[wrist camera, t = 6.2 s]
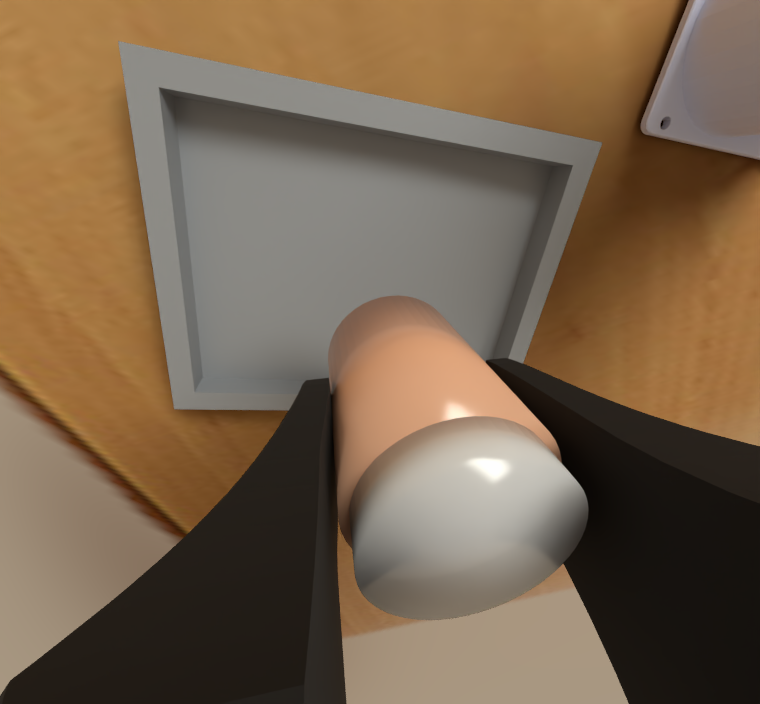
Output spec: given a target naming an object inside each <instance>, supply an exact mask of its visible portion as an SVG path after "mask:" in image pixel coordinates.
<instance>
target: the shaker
mask: <svg viewBox="0 0 760 704" xmlns="http://www.w3.org/2000/svg"><path fill="white" fill-rule="evenodd" d="M328 367H329V382H330V391H331V402H332V417H333V443H334V459H335V474H336V489H337V505H338V519H339V525H340V529H341V532H342V534H343V536H344V538H345V540H346V542H347V543H348V544H349V546H350V547H351V548H352V550H353V560H354V570H355V578H356V581H357V585H358V587H359V589H360V591H361V593H362V594H363V595H364V596H365V598H366V599H367V600H368V601H369V602H370V603H372V604H373V605H374V606H376V607H377V608H379V609H381V610H383V611H385V612H387V613H390V614H392V615H395V616H399V617H403V618H409V619H417V620H441V619H450V618H457V617H462V616H467V615H471V614H475V613H479V612H482V611H485V610H488V609H491V608H494V607H496V606H499V605H501V604H504V603H506V602H508V601H510V600H512V599H514V598H516V597H518V596H520V595H522V594H524V593H525V592H527V591H529V590H531V589H532V588H534V587H535V586H537V585H538V584H540V583H541V582H542V581H544V580H545V579H546V578H547V577H549V576H550V575H551V574H552V573H554V572H555V571H556V570H557V569H558V568H559V567H560V566H561V565H562V564H563V563H564V562H565V561H566V560H567V558H568V557H569V556H570V555H571V553H572V552H573V551H574V549H575V548H576V546H577V545H578V543H579V541H580V540H581V538H582V535H583V533H584V531H585V528H586V524H587V520H588V509H589V508H588V502H587V498H586V495H585V493H584V490H583V489H582V487H581V486H580V484H579V483H578V482H577V480H576V479H575V478H574V477H573V476H572V475H571V474H570V472H569V471H568V470H567V469H566V468H565V467H564V465H563V464H562V460H561V455H560V450H559V448H558V445H557V443H556V441H555V439H554V438H553V436H552V435H551V433H550V432H549V431H548V430H547V429H546V427H545V426H544V425H543V424H542V423H541V422H540V421H539V420H538V419H537V418H536V417H535V416H534V414H533V413H532V412H531V411H530V410H529V409H528V408H527V407H526V406H525V405H524V404H523V403H522V401H521V400H520V399H519V398H518V397H517V396H516V395H515V394H514V393H513V392H512V391H511V390H510V388H509V387H508V386H507V385H506V384H505V383H504V382H503V381H502V380H501V379H500V378H499V377H498V375H497V374H496V373H495V372H494V371H493V370H492V369H491V368H490V367H489V366H488V365H487V363H486V362H485V361H484V360H483V359H482V358H481V357H480V356H479V355H478V354H477V353H476V352H475V350H474V349H473V348H472V347H471V346H470V345H469V344H468V343H467V342H466V341H465V340H464V339H463V337H462V336H461V335H460V334H459V333H458V332H457V331H456V330H455V329H454V328H453V327H452V326H451V324H450V323H449V322H448V321H447V320H446V319H445V318H444V317H443V316H442V315H441V314H440V313H439V312H438V311H437V310H436V309H435V308H434V307H432V306H431V305H430V304H428V303H426V302H424V301H422V300H419V299H416V298H413V297H408V296H399V295H397V296H386V297H380V298H377V299H374V300H371V301H369V302H366V303H364V304H362V305H361V306H359V307H357V308H356V309H354V310H353V311H352V312H351V313H349V314H348V315H347V316H346V317H345V318H344V319H343V320H342V322H341V323H340V324H339V326H338V327H337V329H336V331H335V332H334V334H333V337H332V339H331V342H330V346H329V350H328Z"/></svg>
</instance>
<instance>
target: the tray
mask: <svg viewBox="0 0 760 704" xmlns="http://www.w3.org/2000/svg"><path fill="white" fill-rule="evenodd" d="M118 42H119V49H120V56H121V62H122V69H123V75H124V82H125V88H126V95H127V102H128V108H129V115H130V121H131V128H132V134H133V141H134V148H135V154H136V161H137V167H138V174H139V181H140V187H141V194H142V200H143V207H144V213H145V220H146V227H147V233H148V240H149V246H150V253H151V260H152V266H153V273H154V279H155V286H156V292H157V299H158V306H159V312H160V319H161V325H162V332H163V339H164V345H165V352H166V358H167V365H168V371H169V378H170V385H171V391H172V398H173V404H174V409H196V410H289V409H290V408H291V406H292V404H293V402H294V400H295V399H296V397H297V395H298V393H299V391H300V389H301V386H302V384H303V383H304V382H305V381H306V380H313V379H321V378H329V367H328V350H329V346H330V342H331V339H332V337H333V334H334V332H335V331H336V329H337V327H338V326H339V324H340V323H341V322H342V320H343V319H344V318H345V317H346V316H347V315H348V314H349V313H351V312H352V311H353V310H354V309H356V308H357V307H359V306H361V305H362V304H364V303H366V302H369V301H371V300H374V299H377V298H380V297H386V296H397V295H399V296H408V297H413V298H416V299H419V300H422V301H424V302H426V303H428V304H430V305H431V306H432V307H434V308H435V309H436V310H437V311H438V312H439V313H440V314H441V315H442V316H443V317H444V318H445V319H446V320H447V321H448V322H449V323H450V324H451V326H452V327H453V328H454V329H455V330H456V331H457V332H458V333H459V334H460V335H461V336H462V337H463V339H464V340H465V341H466V342H467V343H468V344H469V345H470V346H471V347H472V348H473V349H474V350H475V352H476V353H477V354H478V355H479V356H480V357H481V358H482V359H483V360H484V361H485V362H486V360H491V359H499V358H509V359H512V360H515V361H517V362H520V363H522V364H523V362H524V359H525V356H526V354H527V351H528V348H529V345H530V343H531V340H532V337H533V334H534V331H535V329H536V326H537V323H538V320H539V318H540V315H541V312H542V309H543V306H544V304H545V301H546V298H547V295H548V292H549V290H550V287H551V284H552V281H553V279H554V276H555V273H556V270H557V267H558V265H559V262H560V259H561V256H562V254H563V251H564V248H565V245H566V242H567V240H568V237H569V234H570V231H571V228H572V226H573V223H574V220H575V217H576V215H577V212H578V209H579V206H580V203H581V201H582V198H583V195H584V192H585V190H586V187H587V184H588V181H589V178H590V176H591V173H592V170H593V167H594V165H595V162H596V159H597V156H598V153H599V151H600V148H601V145H602V142H597V141H593V140H588V139H583V138H578V137H574V136H569V135H564V134H559V133H554V132H550V131H545V130H540V129H535V128H531V127H526V126H521V125H516V124H511V123H507V122H502V121H497V120H492V119H488V118H483V117H478V116H473V115H469V114H464V113H459V112H454V111H449V110H445V109H440V108H435V107H430V106H426V105H421V104H416V103H411V102H406V101H402V100H397V99H392V98H387V97H383V96H378V95H373V94H368V93H363V92H359V91H354V90H349V89H344V88H340V87H335V86H330V85H325V84H320V83H316V82H311V81H306V80H301V79H297V78H292V77H287V76H282V75H277V74H273V73H268V72H263V71H258V70H254V69H249V68H244V67H239V66H234V65H230V64H225V63H220V62H215V61H211V60H206V59H201V58H196V57H191V56H187V55H182V54H177V53H172V52H168V51H163V50H158V49H153V48H148V47H144V46H139V45H134V44H129V43H125V42H120V41H118Z"/></svg>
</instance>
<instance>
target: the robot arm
mask: <svg viewBox="0 0 760 704" xmlns="http://www.w3.org/2000/svg"><path fill="white" fill-rule="evenodd" d="M662 120H663V125H662V127H660V124H661V121H662ZM641 131H642V133H644V134H646V135H650V136H655V137H659V138H664V139H668V140H673V141H677V142H682V143H686V144H691V145H695V146H700V147H704V148H709V149H713V150H718V151H722V152H727V153H731V154H736V155H740V156H745V157H749V158H754V159H758V160H760V0H689V1H688V4H687V6H686V9H685V11H684V14H683V16H682V19H681V22H680V24H679V27H678V29H677V32H676V34H675V37H674V39H673V42H672V44H671V47H670V50H669V52H668V55H667V57H666V60H665V62H664V65H663V67H662V70H661V72H660V75H659V78H658V80H657V83H656V85H655V88H654V90H653V93H652V95H651V98H650V100H649V103H648V106H647V108H646V111H645V113H644V116H643V118H642V121H641ZM486 363H487V365H488V366H489V367H490V368H491V369H492V370H493V371H494V372H495V373H496V374H497V375H498V377H499V378H500V379H501V380H502V381H503V382H504V383H505V384H506V385H507V386H508V387H509V388H510V390H511V391H512V392H513V393H514V394H515V395H516V396H517V397H518V398H519V399H520V400H521V401H522V403H523V404H524V405H525V406H526V407H527V408H528V409H529V410H530V411H531V412H532V413H533V414H534V416H535V417H536V418H537V419H538V420H539V421H540V422H541V423H542V424H543V425H544V426H545V427H546V429H547V430H548V431H549V432H550V433H551V435H552V436H553V438H554V439H555V441H556V443H557V445H558V448H559V450H560V455H561V460H562V464H563V465H564V467H565V468H566V469H567V470H568V471H569V472H570V474H571V475H572V476H573V477H574V478H575V479H576V480H577V482H578V483H579V484H580V486H581V487H582V489H583V490H584V493H585V495H586V498H587V502H588V508H589V509H588V520H587V524H586V528H585V531H584V533H583V535H582V538H581V540H580V541H579V543H578V545H577V546H576V548H575V549H574V551H573V552H572V553H571V555H570V556H569V557H568V558H567V560H566V561H565V562H564V563H563V564H564V565H565V567H566V569H567V571H568V573H569V575H570V577H571V579H572V581H573V583H574V585H575V587H576V589H577V591H578V593H579V595H580V597H581V599H582V601H583V603H584V606H585V607H586V610H587V612H588V613H589V616H590V618H591V620H592V622H593V624H594V626H595V628H596V631H597V633H598V635H599V637H600V639H601V641H602V644H603V646H604V648H605V650H606V653H607V654H608V657H609V659H610V661H611V663H612V666H613V667H614V670H615V672H616V674H617V677H618V679H619V682H620V684H621V686H622V688H623V691H624V693H625V696H626V698H627V700H628V703H629V704H760V446H756V445H752V444H748V443H744V442H740V441H736V440H732V439H729V438H725V437H721V436H717V435H714V434H710V433H706V432H703V431H699V430H696V429H692V428H689V427H685V426H682V425H679V424H676V423H673V422H670V421H667V420H664V419H660V418H657V417H654V416H651V415H648V414H645V413H642V412H639V411H637V410H634V409H631V408H628V407H626V406H623V405H620V404H618V403H615V402H613V401H610V400H607V399H605V398H602V397H600V396H597V395H595V394H592V393H590V392H588V391H585V390H583V389H580V388H578V387H576V386H573V385H571V384H569V383H566V382H564V381H562V380H560V379H557V378H555V377H553V376H550V375H548V374H546V373H544V372H541V371H539V370H537V369H534V368H532V367H530V366H527V365H525V364H522V363H520V362H517V361H515V360H512V359H509V358H499V359H491V360H486ZM337 534H338V505H337V489H336V474H335V459H334V443H333V417H332V402H331V391H330V382H329V378H321V379H313V380H306V381H305V382H304V383H303V384H302V386H301V389H300V391H299V393H298V395H297V397H296V399H295V400H294V402H293V404H292V406H291V408H290V409H289V411H288V413H287V414H286V416H285V418H284V419H283V421H282V422H281V424H280V426H279V427H278V429H277V430H276V432H275V433H274V435H273V436H272V438H271V439H270V440H269V442H268V443H267V445H266V446H265V447H264V449H263V450H262V451H261V453H260V454H259V456H258V457H257V458H256V460H255V461H254V462H253V463H252V465H251V466H250V467H249V469H248V470H247V471H246V472H245V473H244V475H243V476H242V477H241V478H240V479H239V480H238V482H237V483H236V484H235V485H234V486H233V487H232V489H231V490H230V491H229V492H228V493H227V494H226V495H225V496H224V497H223V498H222V500H221V501H220V502H219V503H218V504H217V505H216V506H215V507H214V508H213V509H212V510H211V511H210V512H209V513H208V514H207V515H206V516H205V517H204V518H203V519H202V520H201V521H200V522H199V523H198V524H197V525H196V526H195V527H194V528H193V529H192V530H191V531H190V532H189V533H188V534H187V535H186V536H185V537H184V538H183V539H182V540H181V541H180V542H179V543H178V544H177V545H176V546H174V547H173V548H172V549H171V550H170V551H169V552H168V553H167V554H166V555H165V556H164V557H162V559H160V560H159V561H158V562H157V563H156V564H155V565H153V566H152V567H151V568H150V569H149V570H148V571H146V572H145V573H144V574H143V575H142V576H141V577H139V578H138V579H137V580H136V581H135V582H134V583H133V584H131V585H130V586H129V587H128V588H127V589H126V590H124V591H123V592H122V593H121V594H119V595H118V596H117V597H116V598H115V599H114V600H112V601H111V602H110V603H109V604H107V605H106V606H105V607H104V608H103V609H101V610H100V611H99V612H97V613H96V614H95V615H94V616H92V617H91V618H90V619H89V620H87V621H86V622H85V623H83V624H82V625H81V626H80V627H78V628H77V629H76V630H75V631H73V632H72V633H71V634H70V635H68V636H67V637H66V638H64V640H62V641H61V642H59V643H58V644H57V645H56V646H54V647H53V648H52V649H51V650H49V651H48V652H47V653H46V654H44V655H43V656H42V657H40V658H39V659H38V660H37V661H35V662H34V663H33V664H31V665H30V666H29V667H28V668H26V669H25V670H24V671H22V672H21V673H20V674H18V675H17V676H16V677H14V678H13V679H12V680H11V681H10V682H9V684H8V685H7V686H6V688H5V690H4V691H3V692H2V694H1V696H0V704H346V692H345V678H344V663H343V649H342V633H341V619H340V603H339V588H338V572H337Z"/></svg>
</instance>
